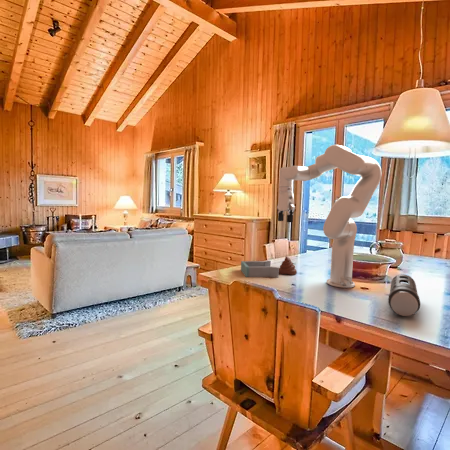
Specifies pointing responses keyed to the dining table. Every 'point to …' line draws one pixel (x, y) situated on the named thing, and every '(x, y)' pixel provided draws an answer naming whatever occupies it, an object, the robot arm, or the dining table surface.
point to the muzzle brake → (403, 296)
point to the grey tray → (259, 269)
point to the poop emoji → (287, 267)
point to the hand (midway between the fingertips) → (285, 221)
